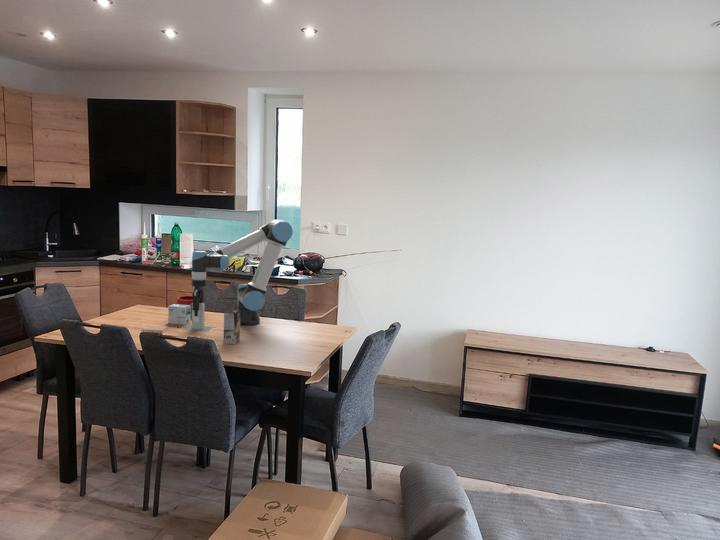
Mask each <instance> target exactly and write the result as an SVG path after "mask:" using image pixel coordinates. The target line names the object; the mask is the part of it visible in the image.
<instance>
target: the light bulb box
mask: <svg viewBox="0 0 720 540" xmlns="http://www.w3.org/2000/svg"><path fill="white" fill-rule="evenodd" d="M190 312H191V305H182V304H181V305H178V304H177V303H176V304H175V303H173V304H171V305H168V313H167V315H168V320H167V322H168V324H173V325H174V324H175V325H183V326H185V325H188V324H190V323H191V318H190Z"/></svg>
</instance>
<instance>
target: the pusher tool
mask: <svg viewBox="0 0 720 540" xmlns="http://www.w3.org/2000/svg"><path fill="white" fill-rule="evenodd" d="M205 304H206V303H205V302H204V303H199V322H194V310H192V318H191V325H192V328H191V329H204V326H205V306H206V305H205ZM192 309H193V303H192Z"/></svg>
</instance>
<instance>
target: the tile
mask: <svg viewBox="0 0 720 540" xmlns="http://www.w3.org/2000/svg"><path fill="white" fill-rule="evenodd" d="M168 327H169V326H168V325H166V326H165V325H164V326H163V325H145V326H144V327H143V328H142V329H141V331H156V332H155V333H160V332H162V333H165V331H167V330H169V328H168ZM141 331H140V332H141Z"/></svg>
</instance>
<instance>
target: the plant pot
mask: <svg viewBox="0 0 720 540" xmlns="http://www.w3.org/2000/svg"><path fill="white" fill-rule="evenodd" d="M176 302H177V303H176V304H178V305H191V312H190V319H192V303H193V295H181V296H178V297H177V299H176Z"/></svg>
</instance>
